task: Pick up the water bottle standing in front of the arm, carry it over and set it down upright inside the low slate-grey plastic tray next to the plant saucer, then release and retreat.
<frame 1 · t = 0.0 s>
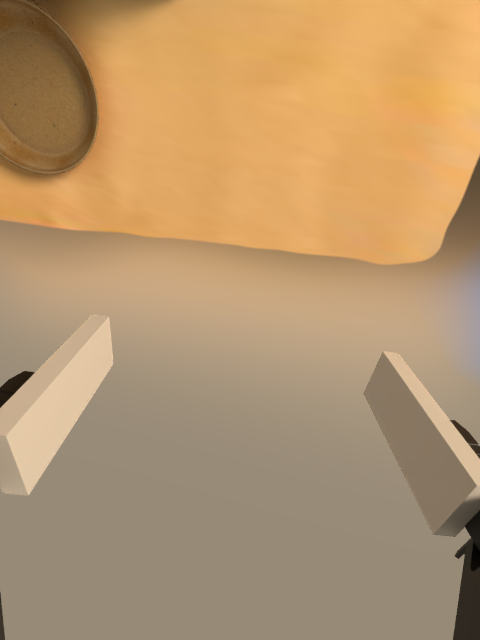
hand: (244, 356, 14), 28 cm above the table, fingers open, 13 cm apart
plant saucer: (42, 99, 33), on the table
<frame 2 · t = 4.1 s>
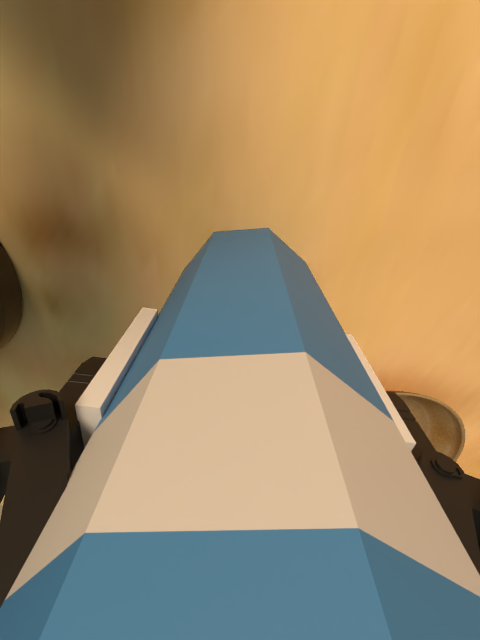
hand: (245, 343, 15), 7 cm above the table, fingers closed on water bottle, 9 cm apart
water bottle: (245, 288, 22), on the table, touching gripper
plant saucer: (367, 429, 29), on the table
when the fingers open (9 cm above the table, at t = 9.4 s): water bottle drops 2 cm, resting on tray.
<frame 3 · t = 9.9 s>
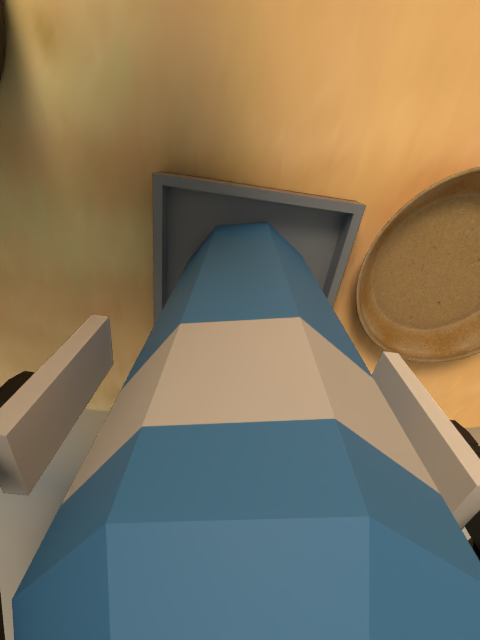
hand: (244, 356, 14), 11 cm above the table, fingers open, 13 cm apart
water bottle: (245, 279, 23), resting on tray
tray: (245, 277, 24), on the table
plant saucer: (439, 267, 23), on the table
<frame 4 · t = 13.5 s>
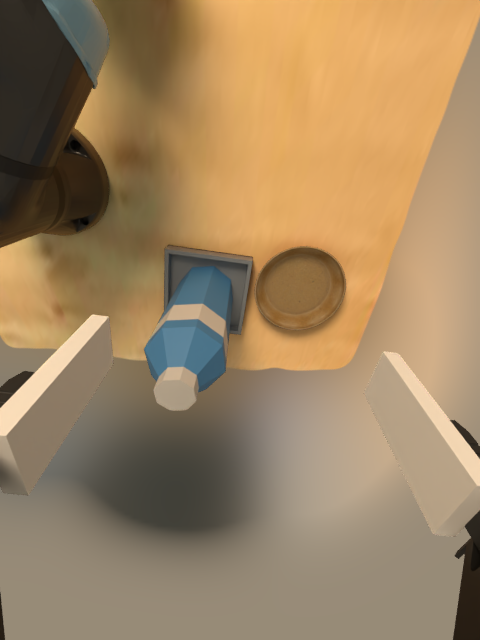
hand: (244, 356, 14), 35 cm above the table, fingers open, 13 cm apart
water bottle: (206, 290, 50), resting on tray
tray: (207, 289, 50), on the table
plant saucer: (297, 284, 50), on the table
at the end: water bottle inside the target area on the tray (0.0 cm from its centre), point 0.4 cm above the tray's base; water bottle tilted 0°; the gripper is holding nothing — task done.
